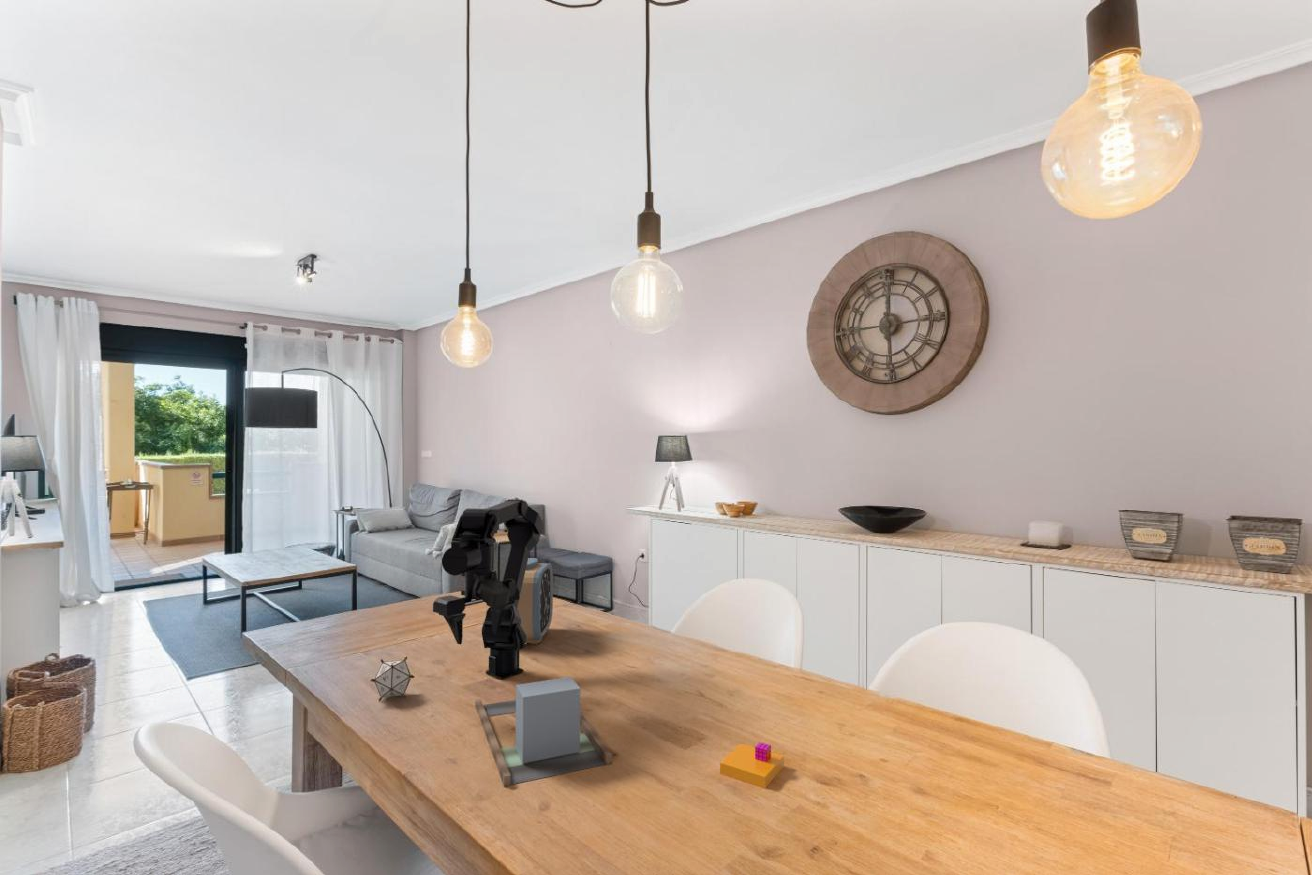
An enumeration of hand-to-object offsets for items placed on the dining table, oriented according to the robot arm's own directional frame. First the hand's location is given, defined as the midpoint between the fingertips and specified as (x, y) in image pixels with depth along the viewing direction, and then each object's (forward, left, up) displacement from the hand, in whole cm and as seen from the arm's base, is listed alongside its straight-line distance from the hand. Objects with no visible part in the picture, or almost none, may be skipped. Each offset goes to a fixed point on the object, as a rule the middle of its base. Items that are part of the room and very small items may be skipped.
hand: (477, 638), depth 133 cm
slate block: (+8, +31, -12) cm, 34 cm away
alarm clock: (-34, -23, -12) cm, 43 cm away
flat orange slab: (-9, +62, -13) cm, 64 cm away
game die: (+12, -13, -12) cm, 21 cm away
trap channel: (+4, +24, -12) cm, 27 cm away
